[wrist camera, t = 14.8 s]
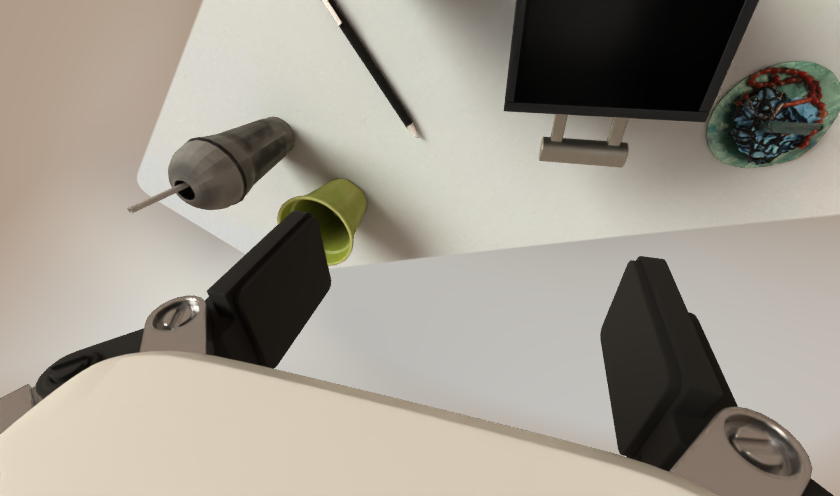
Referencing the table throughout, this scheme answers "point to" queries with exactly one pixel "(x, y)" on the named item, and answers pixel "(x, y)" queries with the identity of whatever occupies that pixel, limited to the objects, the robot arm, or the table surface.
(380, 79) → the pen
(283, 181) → the table surface
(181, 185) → the beverage cup
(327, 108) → the table surface
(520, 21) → the bin
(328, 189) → the plant pot
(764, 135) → the dish
